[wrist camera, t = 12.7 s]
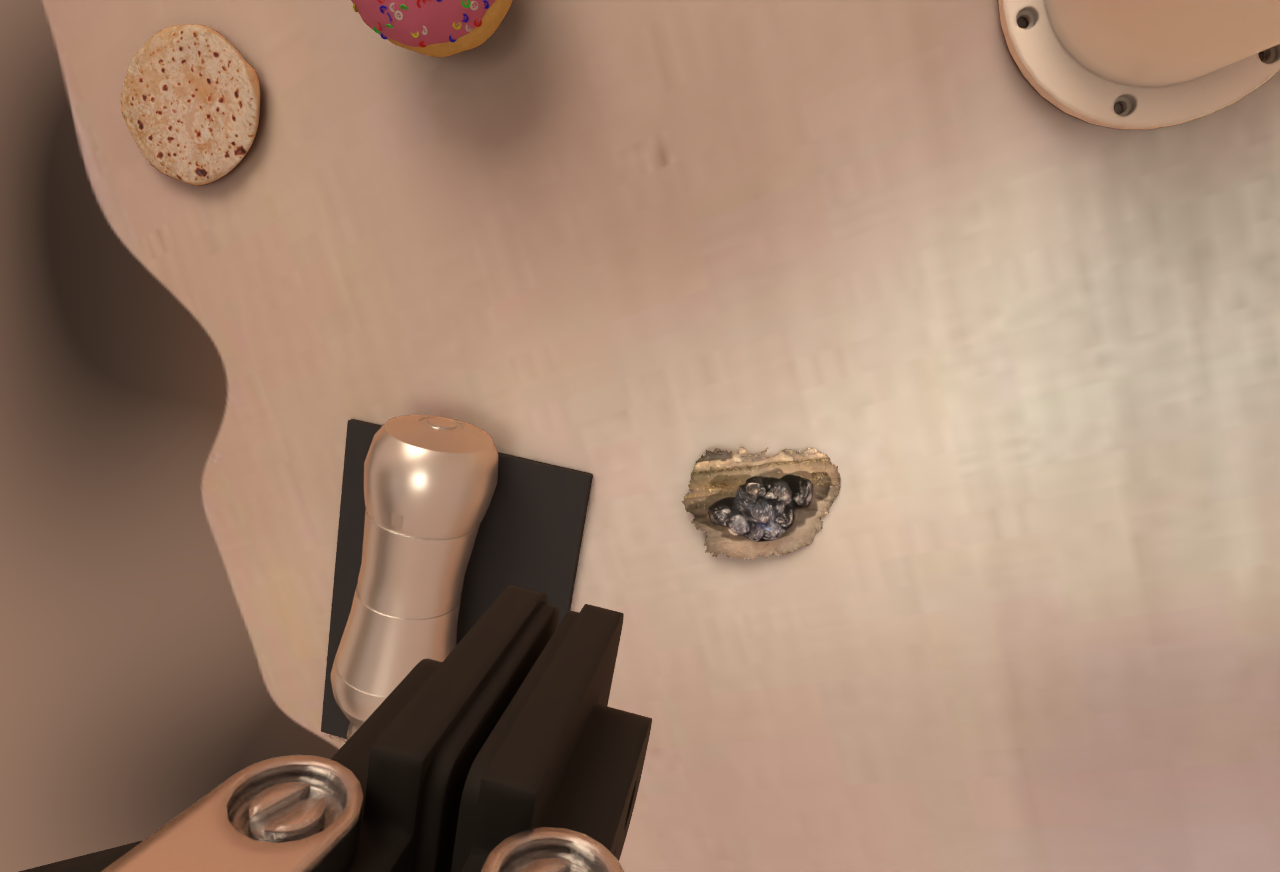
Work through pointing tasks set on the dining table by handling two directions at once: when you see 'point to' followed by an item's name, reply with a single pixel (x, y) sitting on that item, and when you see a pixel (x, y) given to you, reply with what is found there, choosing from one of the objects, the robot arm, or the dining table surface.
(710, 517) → the mineral rock
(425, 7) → the cupcake
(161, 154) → the flatbread
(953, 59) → the dining table surface
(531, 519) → the mat
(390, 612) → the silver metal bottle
